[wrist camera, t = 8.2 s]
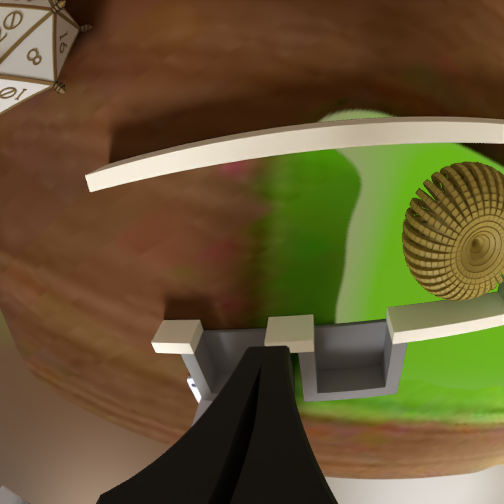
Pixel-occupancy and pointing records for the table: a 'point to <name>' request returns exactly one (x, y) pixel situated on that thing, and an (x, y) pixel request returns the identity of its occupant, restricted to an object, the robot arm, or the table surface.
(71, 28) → the game die
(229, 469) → the robot arm
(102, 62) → the table surface
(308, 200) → the table surface
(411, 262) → the sculpture
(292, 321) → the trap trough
